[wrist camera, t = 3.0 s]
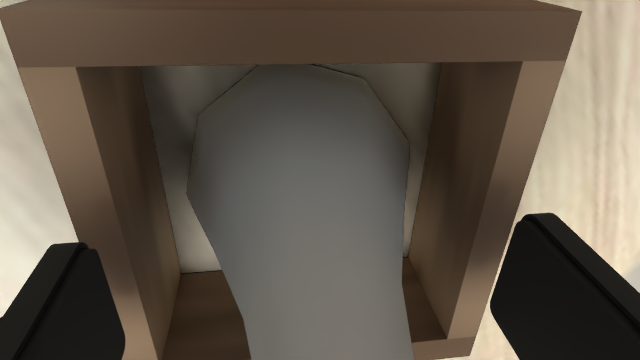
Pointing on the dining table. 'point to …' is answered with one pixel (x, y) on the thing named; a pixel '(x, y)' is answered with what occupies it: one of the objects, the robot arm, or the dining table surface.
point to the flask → (306, 212)
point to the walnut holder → (289, 48)
